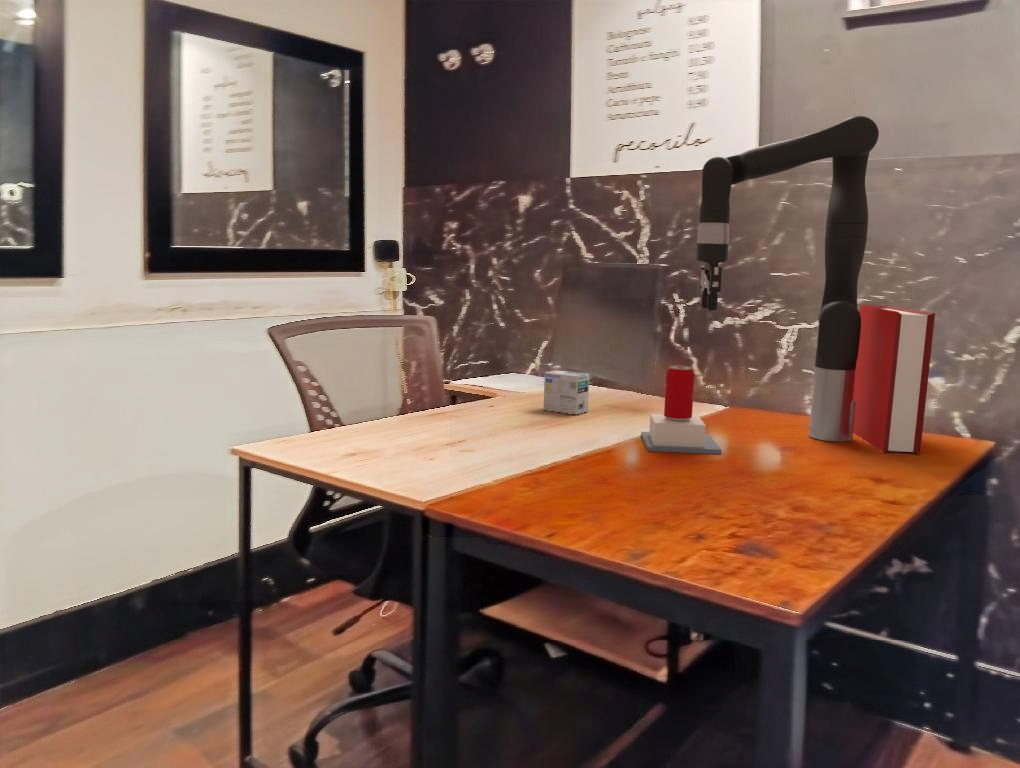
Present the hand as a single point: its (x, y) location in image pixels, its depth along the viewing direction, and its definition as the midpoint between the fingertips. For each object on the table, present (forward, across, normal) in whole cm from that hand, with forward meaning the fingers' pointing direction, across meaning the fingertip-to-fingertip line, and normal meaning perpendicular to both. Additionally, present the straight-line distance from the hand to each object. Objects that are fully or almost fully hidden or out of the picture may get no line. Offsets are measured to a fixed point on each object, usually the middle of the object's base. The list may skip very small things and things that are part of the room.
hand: (708, 309), depth 206 cm
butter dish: (+30, -20, +8) cm, 37 cm away
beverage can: (+24, -21, +9) cm, 33 cm away
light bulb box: (+30, +17, +34) cm, 48 cm away
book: (+30, -6, -42) cm, 52 cm away
